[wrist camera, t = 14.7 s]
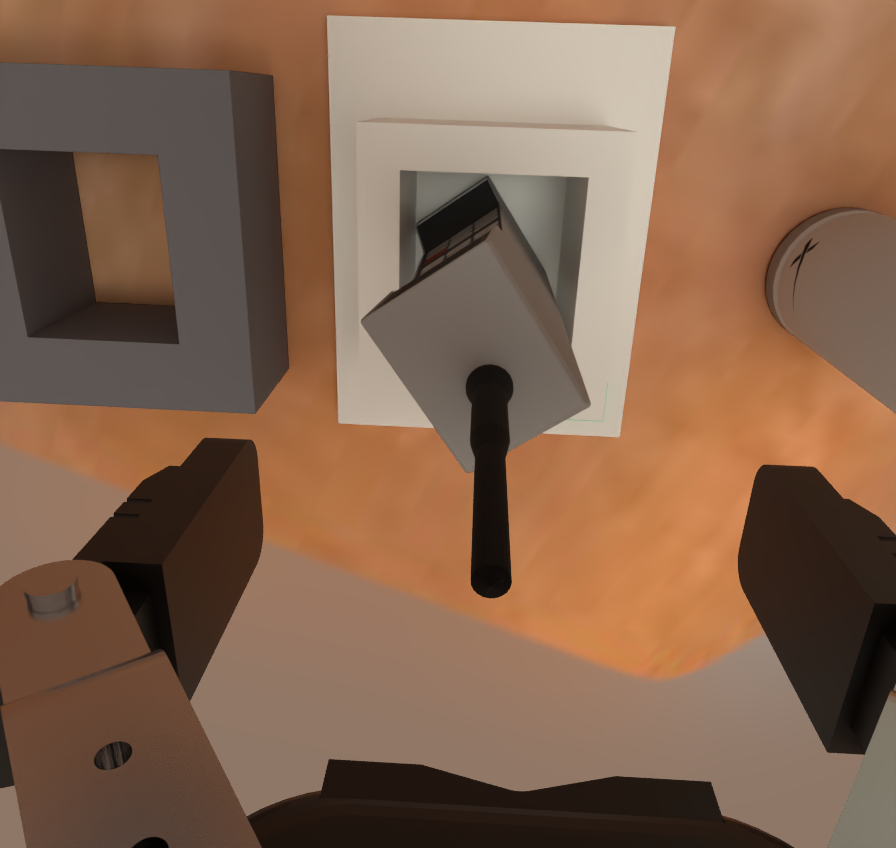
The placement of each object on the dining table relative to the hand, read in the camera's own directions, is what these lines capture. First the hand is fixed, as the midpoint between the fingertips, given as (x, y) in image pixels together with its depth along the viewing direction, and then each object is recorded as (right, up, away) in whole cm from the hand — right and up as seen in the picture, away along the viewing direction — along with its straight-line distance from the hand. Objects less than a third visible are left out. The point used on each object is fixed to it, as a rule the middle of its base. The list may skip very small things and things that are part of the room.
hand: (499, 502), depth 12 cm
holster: (-15, +11, +23) cm, 30 cm away
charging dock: (+1, +10, +23) cm, 25 cm away
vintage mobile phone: (+1, +9, +22) cm, 24 cm away
